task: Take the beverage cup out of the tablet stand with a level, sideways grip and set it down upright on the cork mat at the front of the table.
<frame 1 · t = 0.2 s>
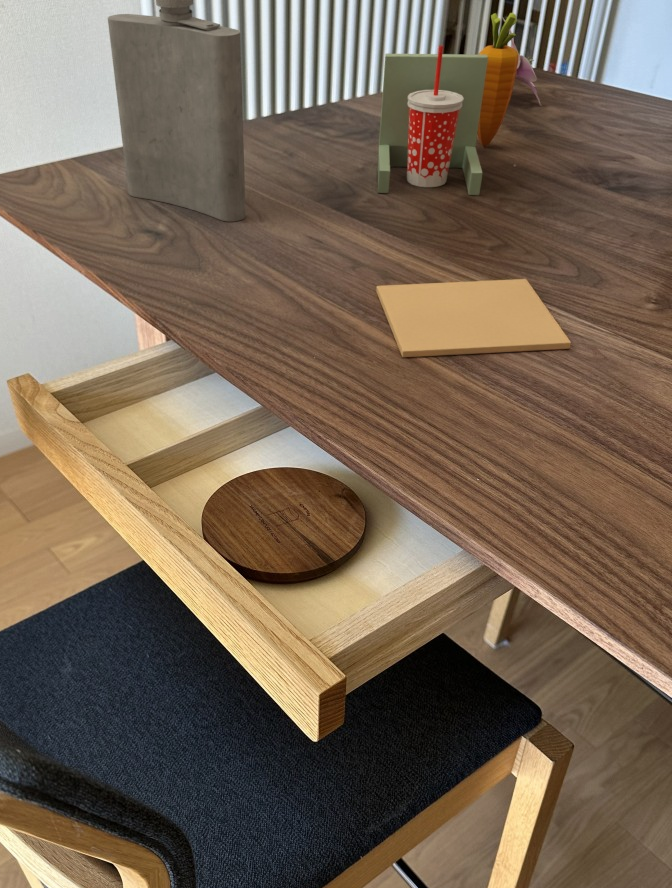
hip flask: (188, 204, 95), on the table
beverage cup: (426, 182, 100), on the table
cork mat: (467, 318, 74), on the table
lily: (514, 102, 124), on the table
carrot: (484, 148, 108), on the table
tablet stand: (426, 180, 100), on the table
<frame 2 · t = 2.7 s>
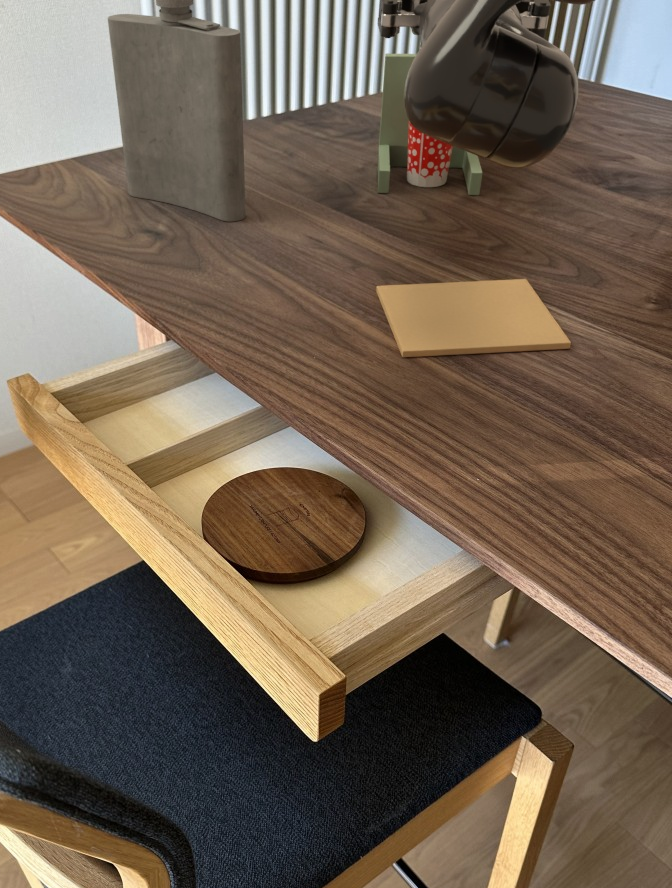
nothing on the table moved.
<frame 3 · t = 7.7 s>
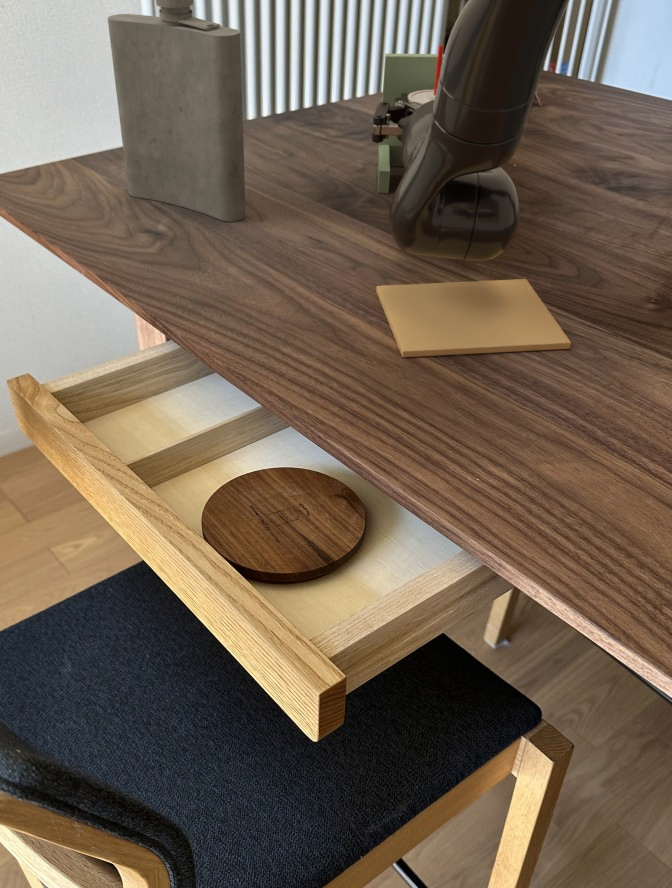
hand: (432, 103, 96), 8 cm above the table, tool horizontal, fingers closed on beverage cup, 6 cm apart
beverage cup: (426, 182, 100), on the table, touching gripper
everything else where it was.
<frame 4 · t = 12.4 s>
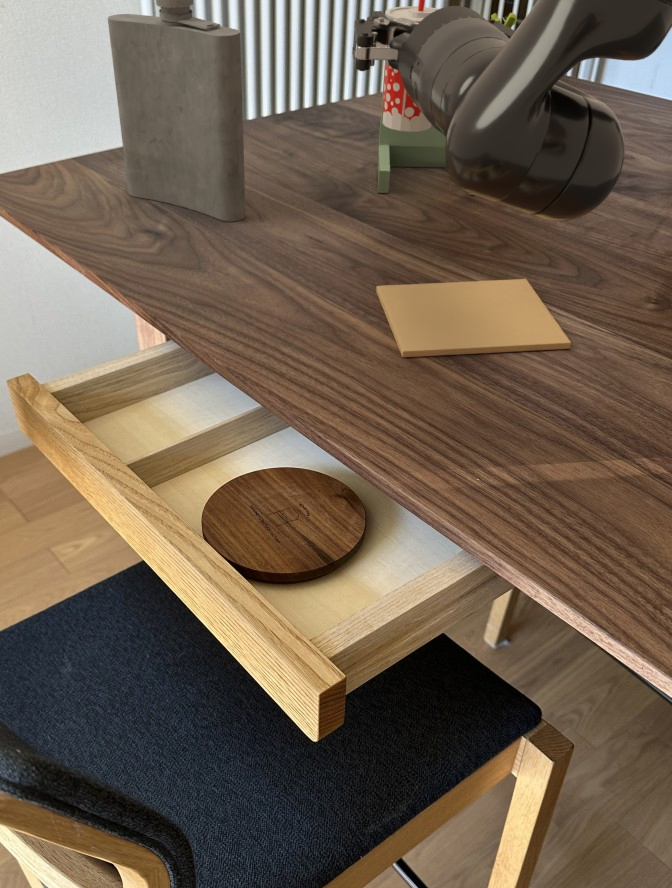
hand: (412, 24, 76), 19 cm above the table, tool horizontal, fingers closed on beverage cup, 6 cm apart
beverage cup: (406, 126, 80), point 11 cm above the table, touching gripper
everything else where it was.
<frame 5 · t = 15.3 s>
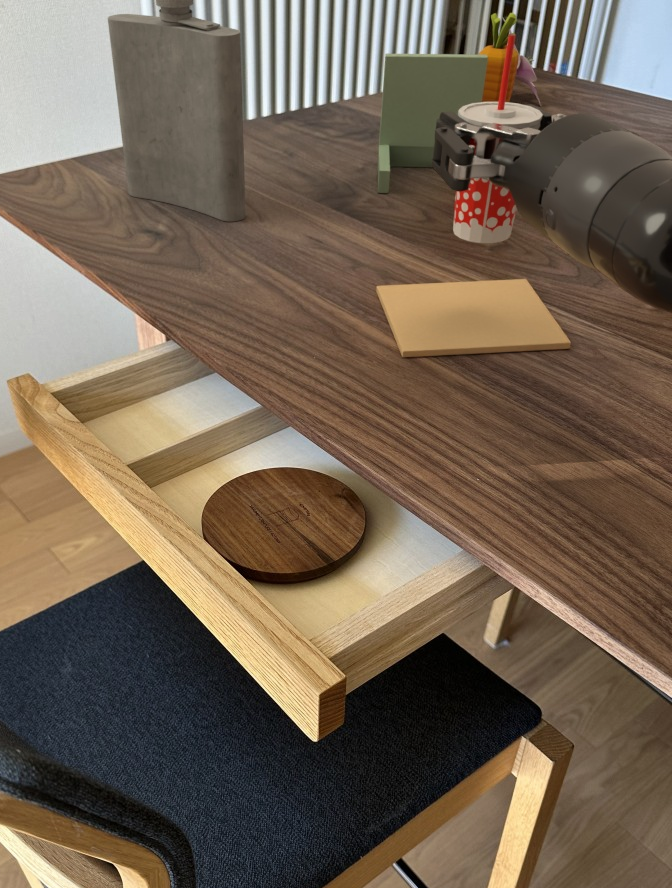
hand: (483, 122, 65), 15 cm above the table, tool horizontal, fingers closed on beverage cup, 6 cm apart
beverage cup: (481, 234, 69), point 8 cm above the table, touching gripper
everything else where it was.
when the fingers open (8 cm above the table, at t = 17.5 s): beverage cup stays where it is, resting on cork mat.
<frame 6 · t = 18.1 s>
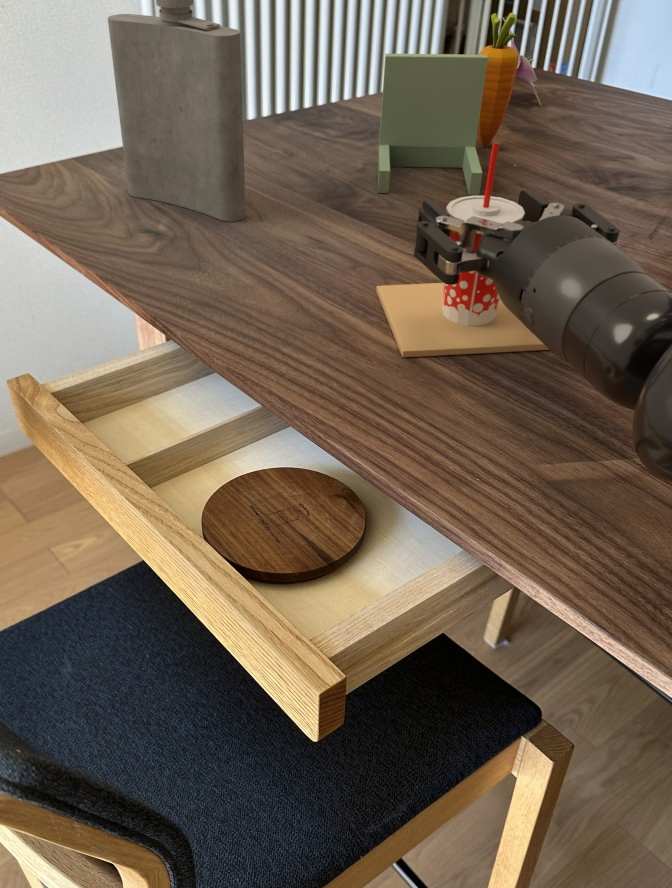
hand: (473, 206, 69), 9 cm above the table, tool horizontal, fingers open, 8 cm apart
beverage cup: (468, 315, 74), resting on cork mat
everything else where it was.
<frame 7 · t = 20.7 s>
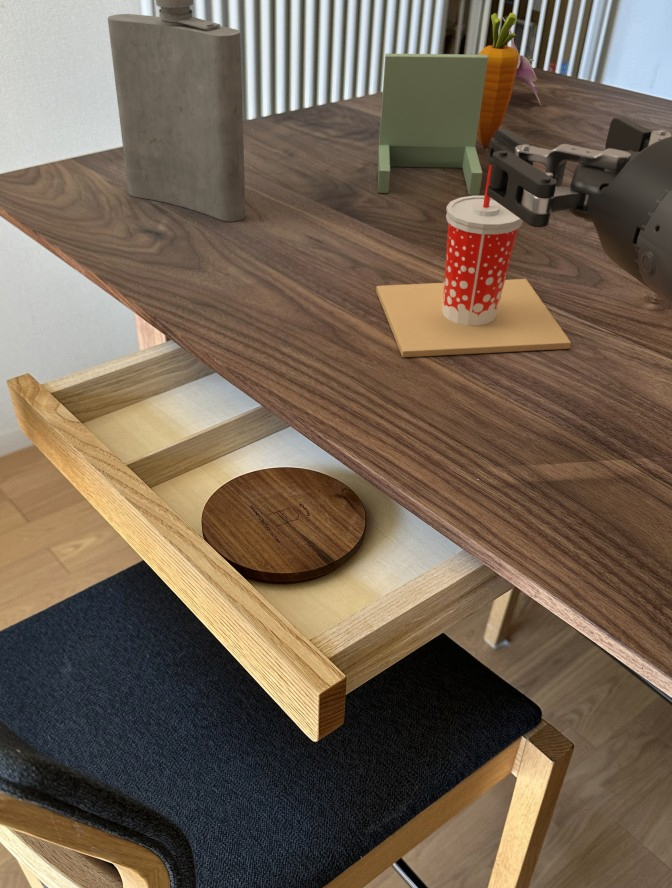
hand: (555, 138, 57), 17 cm above the table, tool horizontal, fingers open, 8 cm apart
nothing on the table moved.
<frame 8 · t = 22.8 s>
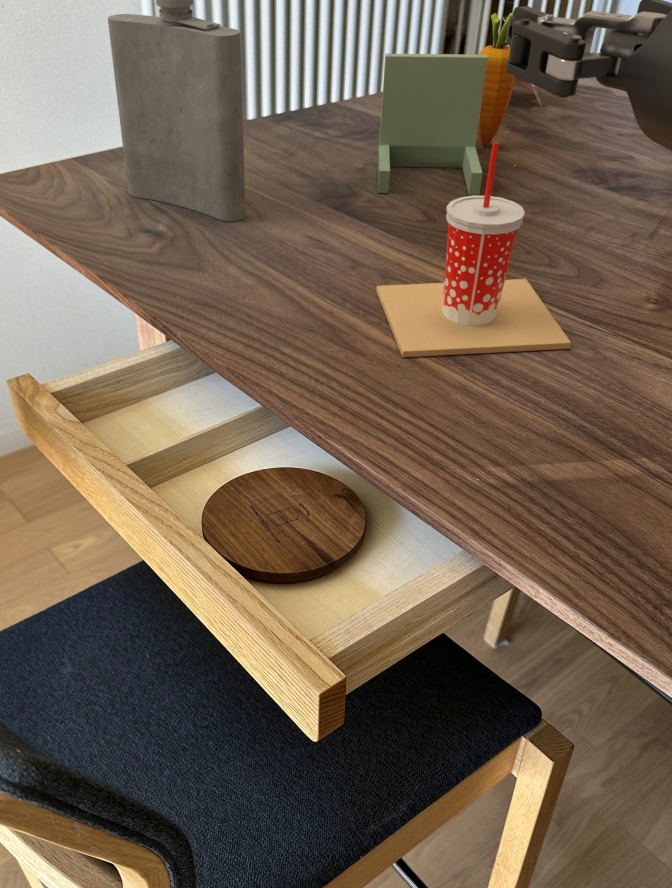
hand: (578, 21, 52), 24 cm above the table, tool horizontal, fingers open, 8 cm apart
nothing on the table moved.
at the end: beverage cup inside the target area on the cork mat (0.1 cm from its centre), point 0.4 cm above the cork mat's base; beverage cup tilted 0°; the gripper is holding nothing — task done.
